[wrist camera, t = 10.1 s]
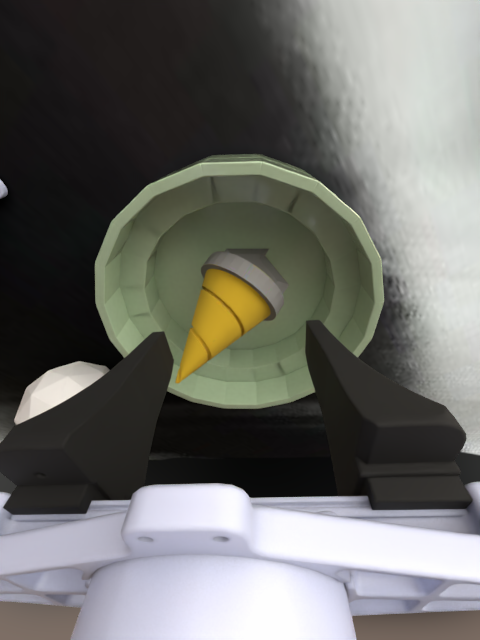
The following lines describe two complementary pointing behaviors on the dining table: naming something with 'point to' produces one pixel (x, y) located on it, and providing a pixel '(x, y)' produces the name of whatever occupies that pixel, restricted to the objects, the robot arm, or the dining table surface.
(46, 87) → the dining table surface
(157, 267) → the bowl
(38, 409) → the ball
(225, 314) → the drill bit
